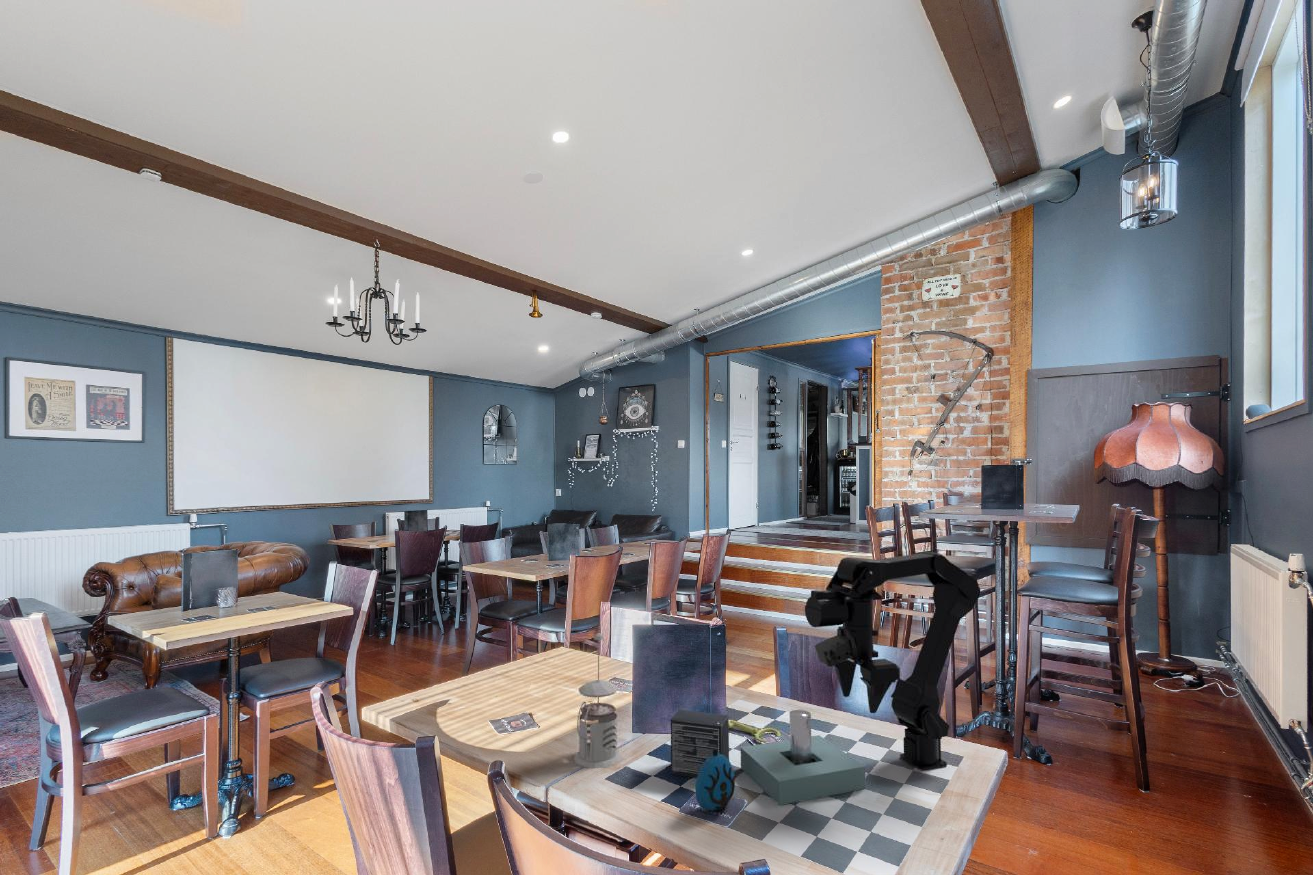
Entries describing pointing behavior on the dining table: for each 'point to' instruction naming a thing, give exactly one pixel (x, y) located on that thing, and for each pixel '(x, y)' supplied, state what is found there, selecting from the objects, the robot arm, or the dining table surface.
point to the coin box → (802, 771)
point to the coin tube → (800, 737)
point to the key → (753, 730)
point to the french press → (597, 725)
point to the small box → (696, 740)
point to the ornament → (715, 782)
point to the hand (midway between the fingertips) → (859, 704)
